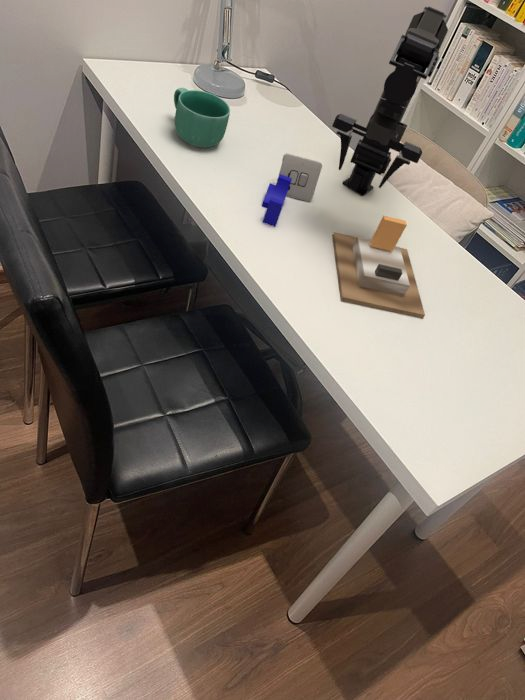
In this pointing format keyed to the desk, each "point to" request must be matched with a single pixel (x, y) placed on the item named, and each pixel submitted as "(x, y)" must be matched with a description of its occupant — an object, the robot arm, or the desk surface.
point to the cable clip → (275, 199)
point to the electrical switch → (301, 176)
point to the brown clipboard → (376, 276)
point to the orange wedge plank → (388, 233)
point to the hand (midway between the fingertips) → (359, 178)
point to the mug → (200, 117)
